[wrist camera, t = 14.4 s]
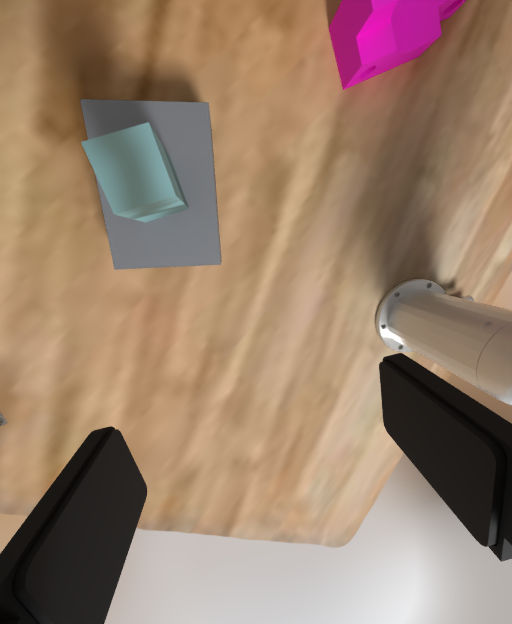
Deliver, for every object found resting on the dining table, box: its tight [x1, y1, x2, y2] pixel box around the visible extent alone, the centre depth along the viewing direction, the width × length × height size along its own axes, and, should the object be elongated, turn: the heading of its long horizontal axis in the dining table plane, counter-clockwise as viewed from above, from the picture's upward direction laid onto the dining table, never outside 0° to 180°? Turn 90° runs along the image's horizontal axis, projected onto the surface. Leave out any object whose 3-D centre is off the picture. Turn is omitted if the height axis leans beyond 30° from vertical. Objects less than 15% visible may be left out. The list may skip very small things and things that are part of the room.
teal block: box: [81, 122, 189, 222], centre depth 22 cm, size 5×5×8 cm
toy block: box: [329, 0, 466, 90], centre depth 26 cm, size 15×6×8 cm, turn 113°
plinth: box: [80, 99, 221, 269], centre depth 28 cm, size 12×16×6 cm
